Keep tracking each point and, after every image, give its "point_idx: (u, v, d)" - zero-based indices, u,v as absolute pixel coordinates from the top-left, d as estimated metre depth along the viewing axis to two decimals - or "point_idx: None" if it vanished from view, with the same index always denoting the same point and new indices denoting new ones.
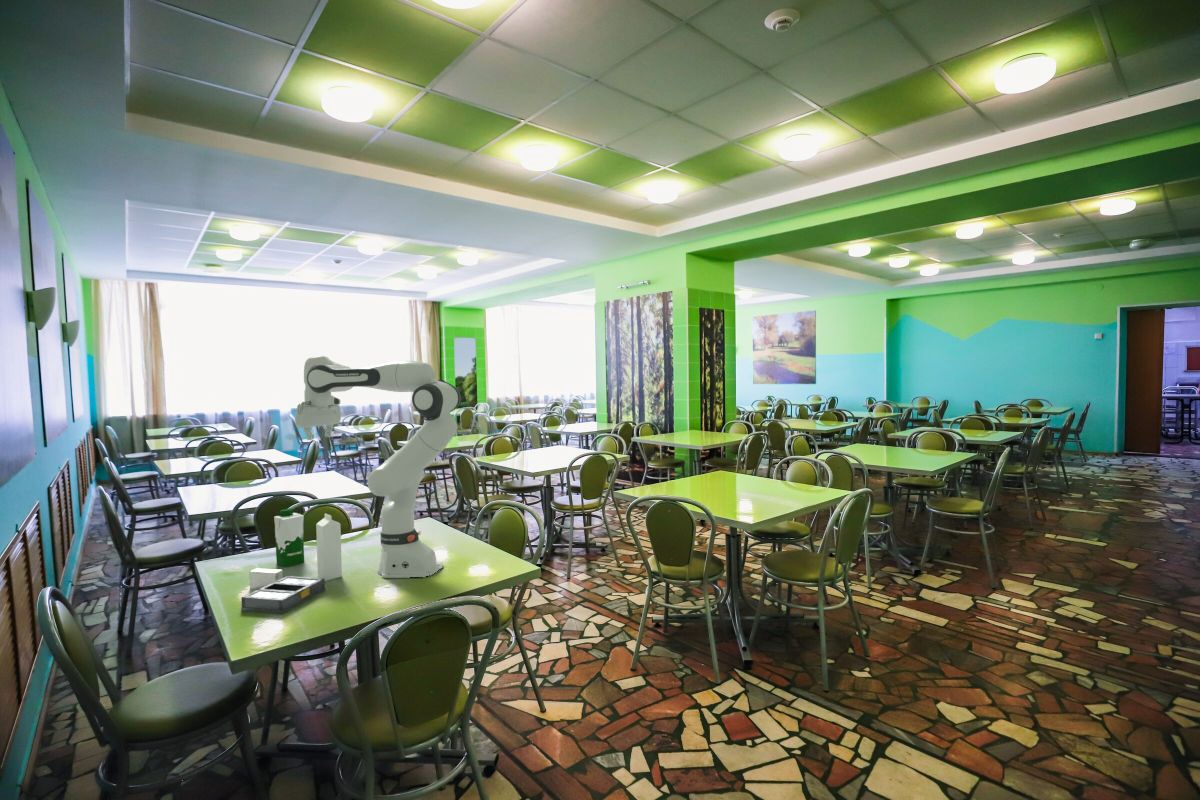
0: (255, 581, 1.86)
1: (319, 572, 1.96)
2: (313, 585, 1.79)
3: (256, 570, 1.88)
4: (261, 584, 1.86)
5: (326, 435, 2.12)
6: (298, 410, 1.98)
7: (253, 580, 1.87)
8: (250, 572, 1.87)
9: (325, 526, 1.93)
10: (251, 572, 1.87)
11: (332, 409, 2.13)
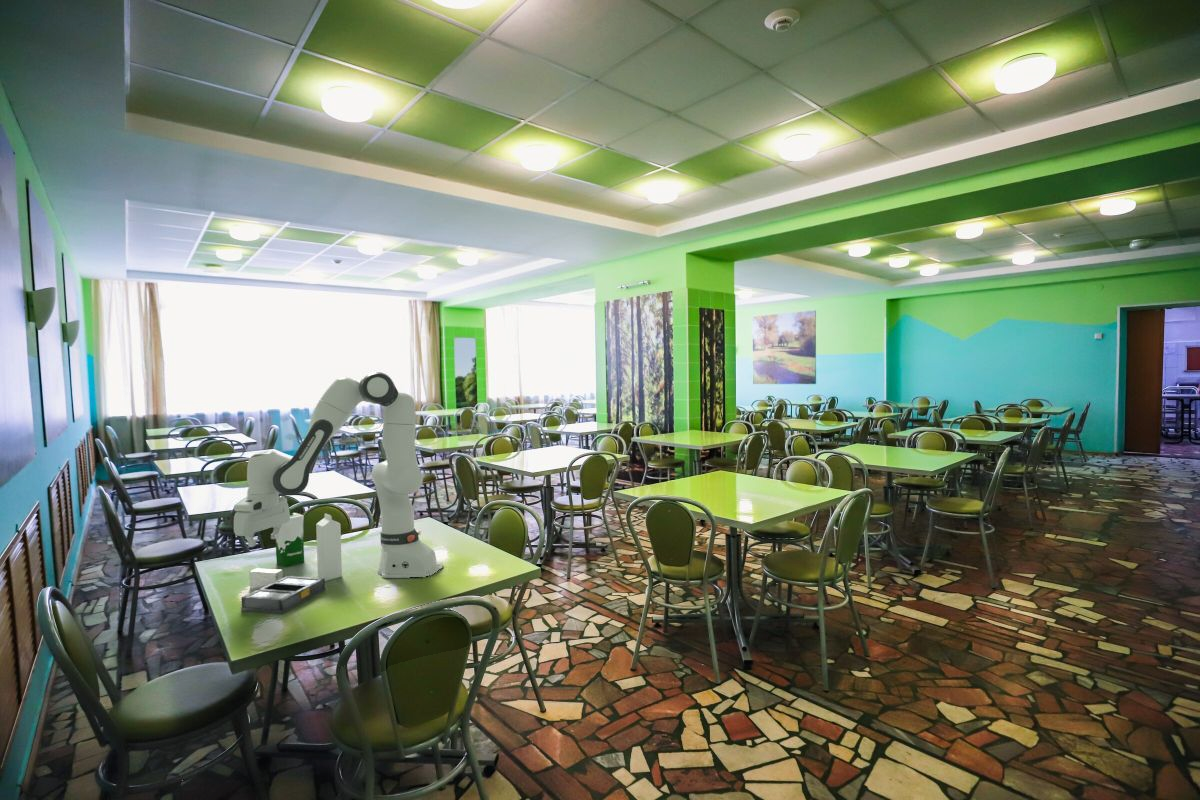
0: (255, 581, 1.86)
1: (319, 572, 1.96)
2: (313, 585, 1.79)
3: (256, 570, 1.88)
4: (261, 584, 1.86)
5: None
6: None
7: (253, 580, 1.87)
8: (250, 572, 1.87)
9: (325, 526, 1.93)
10: (251, 572, 1.87)
11: None
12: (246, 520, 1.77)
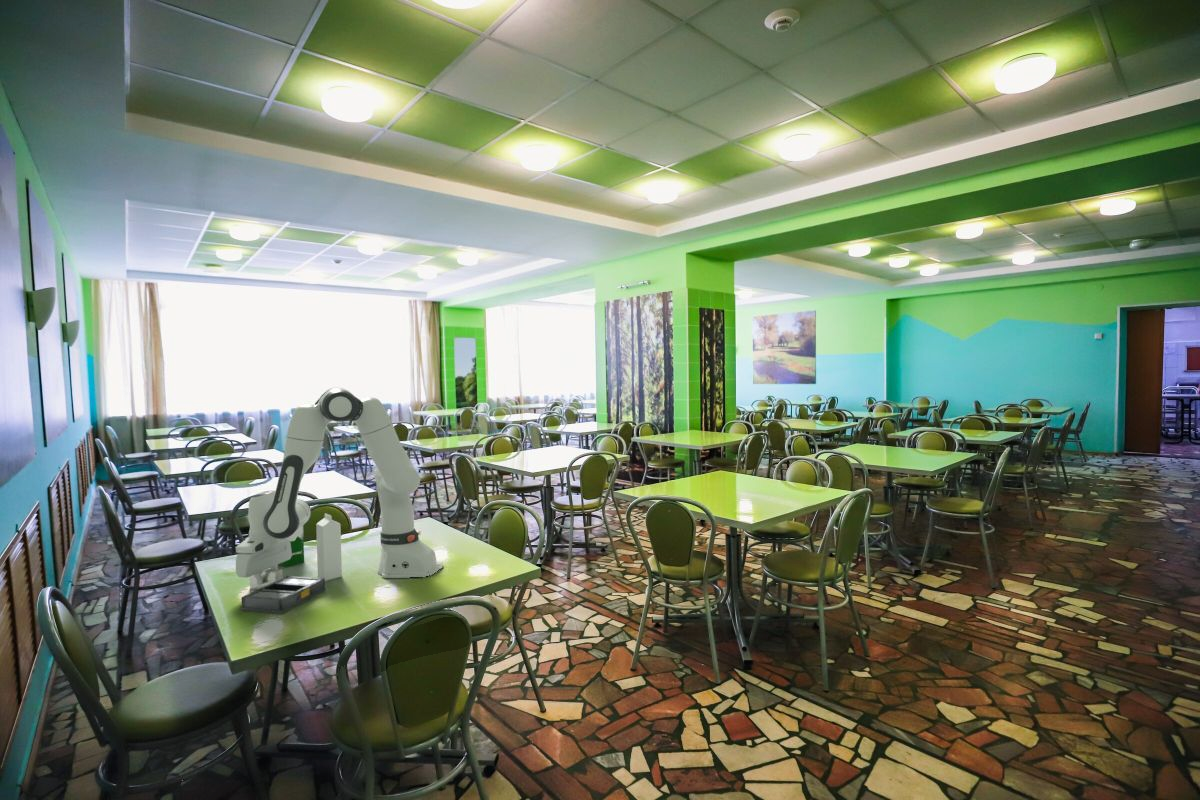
0: (255, 581, 1.86)
1: (319, 572, 1.96)
2: (313, 585, 1.79)
3: None
4: None
5: None
6: None
7: (253, 580, 1.87)
8: None
9: (325, 526, 1.93)
10: None
11: None
12: (248, 562, 1.78)
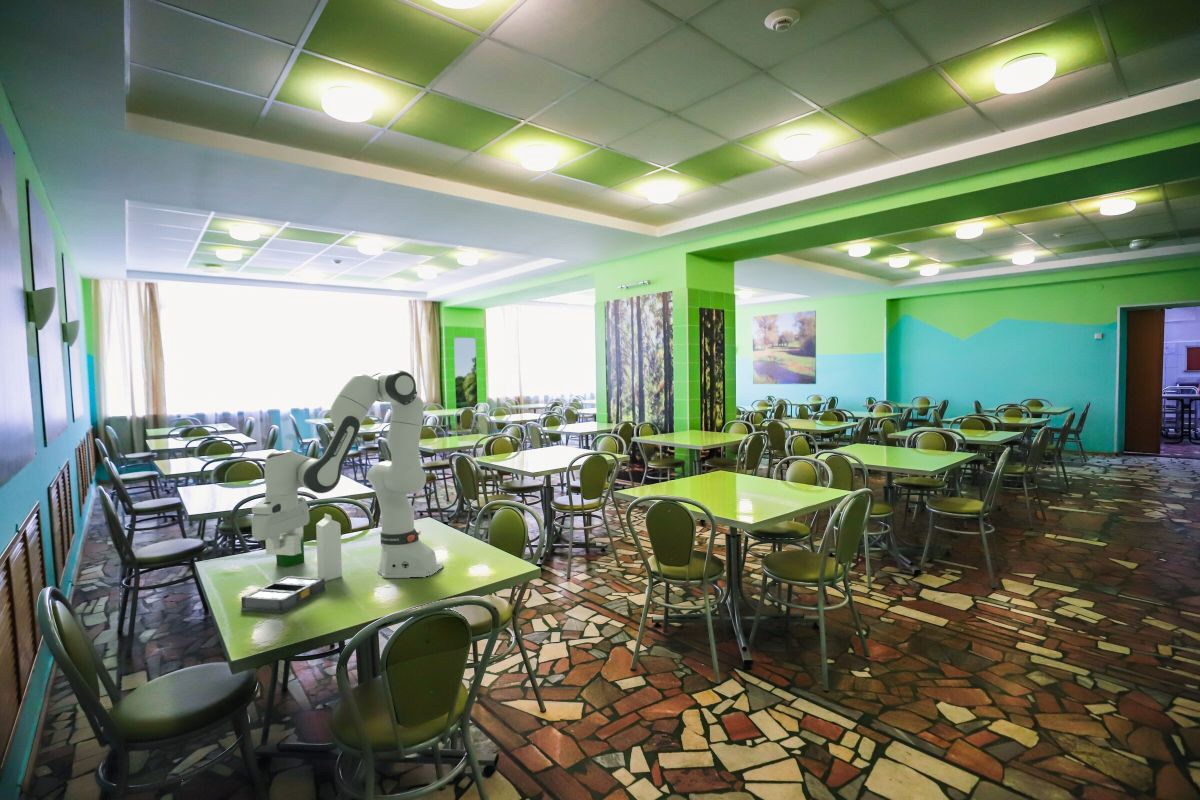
0: (272, 546, 1.75)
1: (319, 572, 1.96)
2: (313, 585, 1.79)
3: None
4: None
5: None
6: None
7: (269, 544, 1.76)
8: None
9: (325, 526, 1.93)
10: None
11: None
12: (265, 523, 1.67)
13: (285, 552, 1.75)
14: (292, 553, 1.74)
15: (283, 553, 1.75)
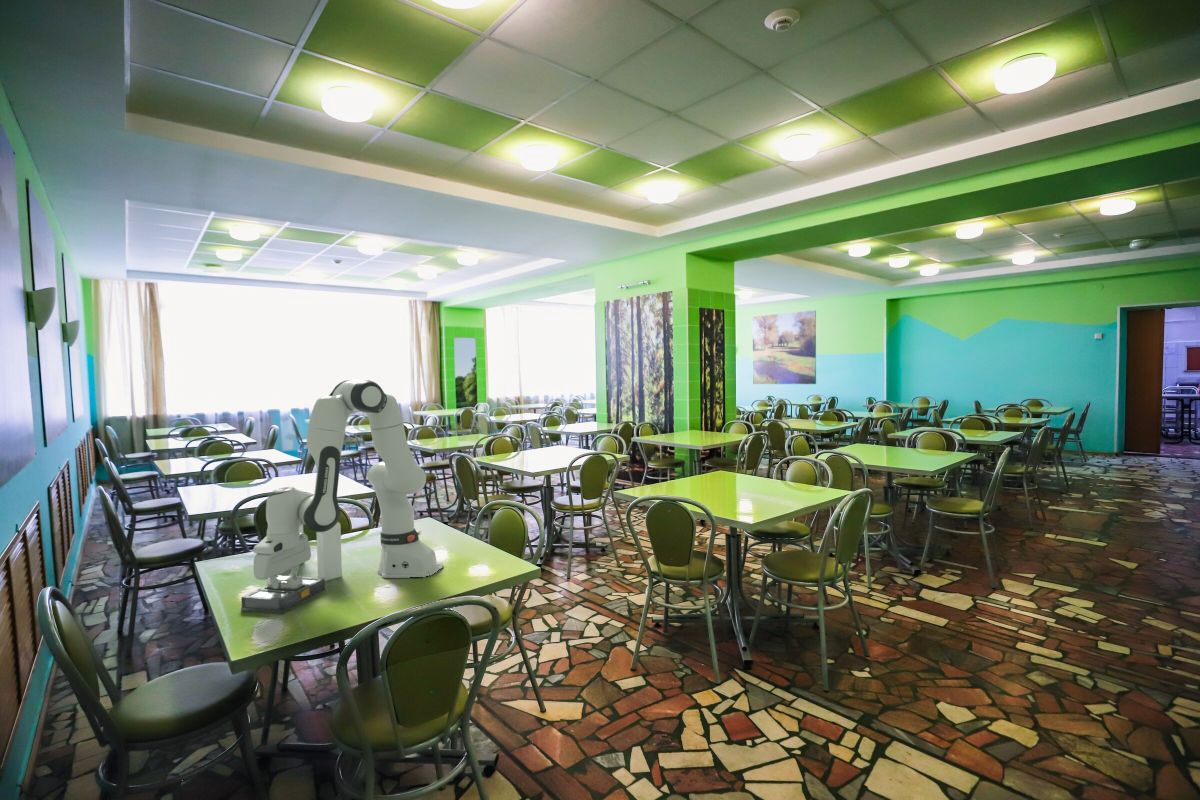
0: (274, 589, 1.76)
1: (319, 572, 1.96)
2: (313, 585, 1.79)
3: None
4: None
5: None
6: None
7: (271, 588, 1.76)
8: (268, 579, 1.76)
9: None
10: (269, 579, 1.76)
11: None
12: (267, 563, 1.67)
13: None
14: None
15: None
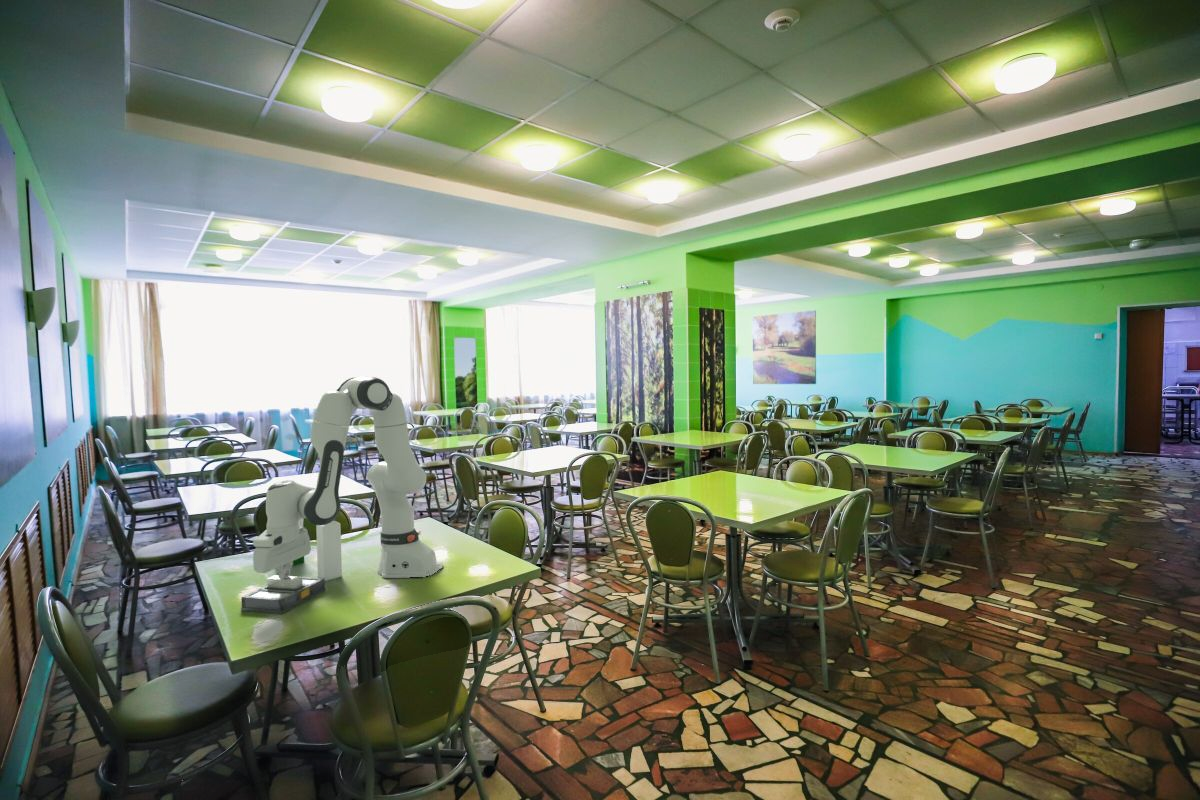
0: (274, 589, 1.76)
1: (319, 572, 1.96)
2: (313, 585, 1.79)
3: (274, 577, 1.77)
4: None
5: None
6: None
7: (271, 588, 1.76)
8: (268, 579, 1.76)
9: (325, 526, 1.93)
10: (269, 579, 1.76)
11: None
12: (266, 556, 1.67)
13: None
14: None
15: None
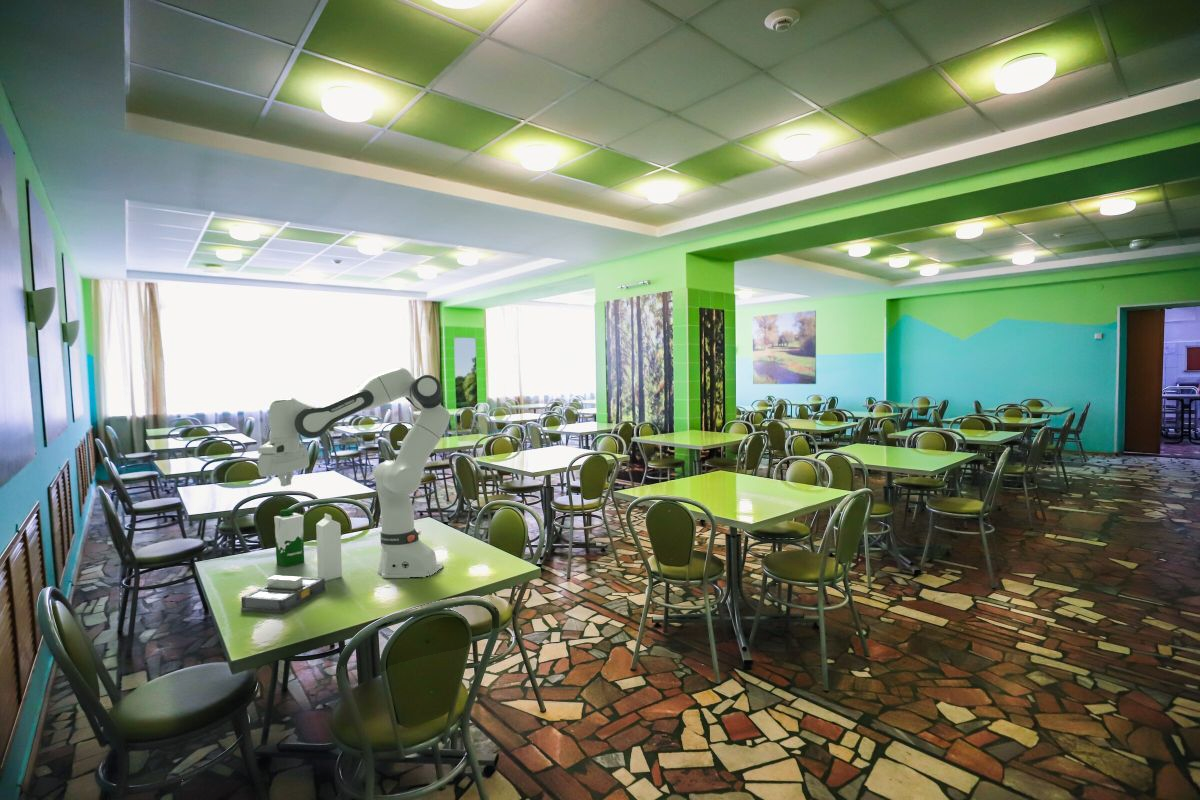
0: (274, 589, 1.76)
1: (319, 572, 1.96)
2: (313, 585, 1.79)
3: (274, 577, 1.77)
4: None
5: None
6: None
7: (271, 588, 1.76)
8: (268, 579, 1.76)
9: (325, 526, 1.93)
10: (269, 579, 1.76)
11: None
12: (270, 461, 1.85)
13: None
14: None
15: None
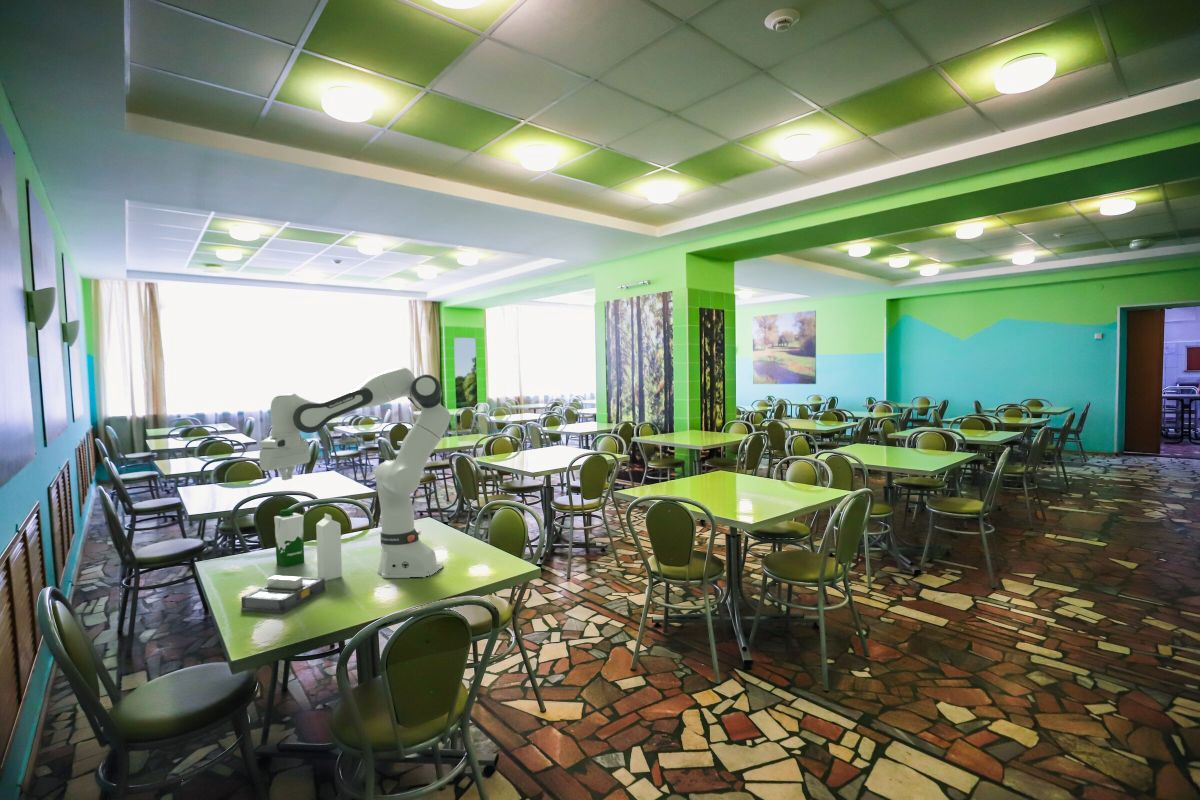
0: (274, 589, 1.76)
1: (319, 572, 1.96)
2: (313, 585, 1.79)
3: (274, 577, 1.77)
4: None
5: None
6: None
7: (271, 588, 1.76)
8: (268, 579, 1.76)
9: (325, 526, 1.93)
10: (269, 579, 1.76)
11: None
12: (271, 455, 1.88)
13: None
14: None
15: None
